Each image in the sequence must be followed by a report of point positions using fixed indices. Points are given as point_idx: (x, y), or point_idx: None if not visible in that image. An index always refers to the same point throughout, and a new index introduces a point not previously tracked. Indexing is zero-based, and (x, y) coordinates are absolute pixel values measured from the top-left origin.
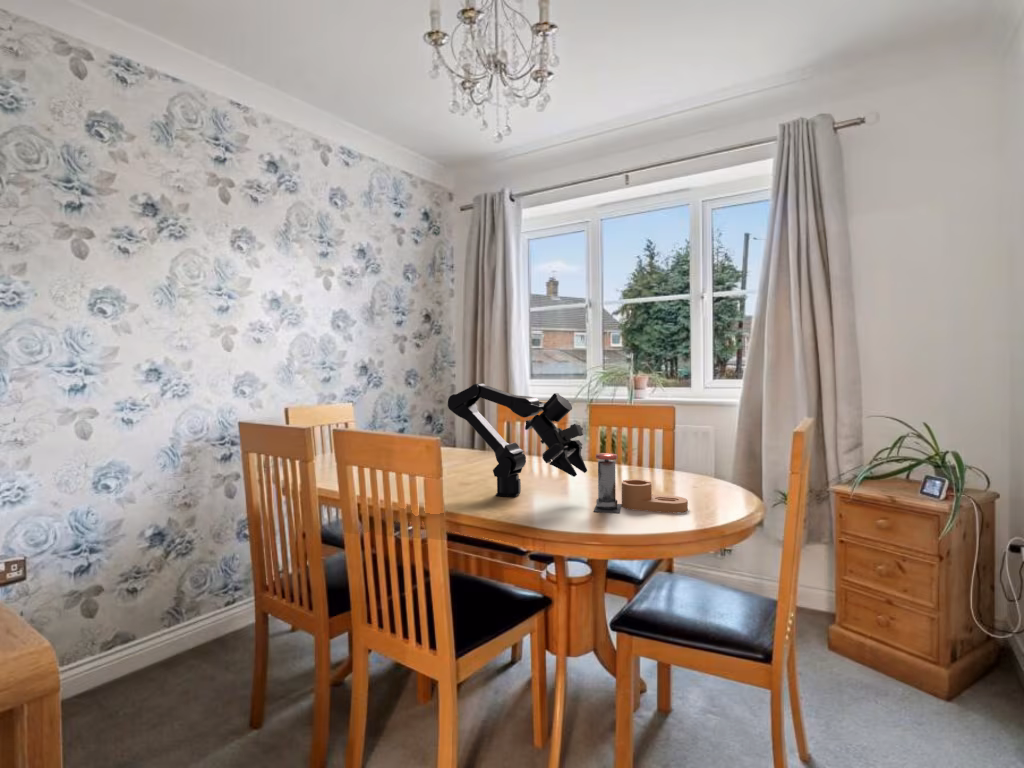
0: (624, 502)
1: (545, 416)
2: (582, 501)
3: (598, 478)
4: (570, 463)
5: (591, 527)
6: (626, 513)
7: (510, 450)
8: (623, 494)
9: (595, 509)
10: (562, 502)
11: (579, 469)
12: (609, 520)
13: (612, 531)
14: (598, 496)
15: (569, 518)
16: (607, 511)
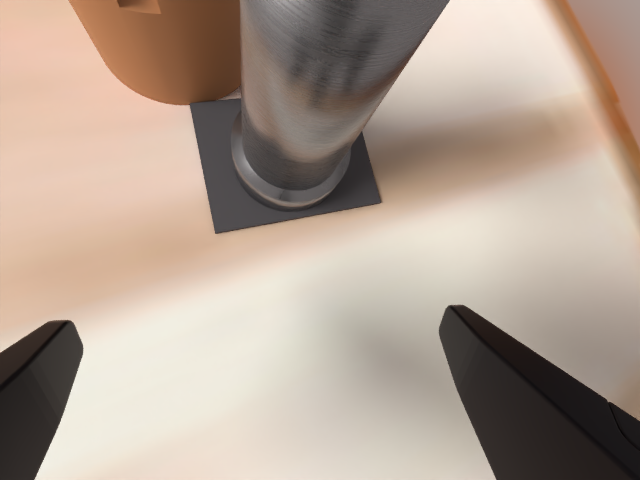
0: (240, 66)
1: None
2: (196, 330)
3: (368, 112)
4: (578, 416)
5: (565, 154)
6: None
7: None
8: (233, 40)
9: (348, 202)
10: (269, 437)
11: (51, 439)
12: (460, 111)
13: (565, 79)
14: (325, 175)
15: (514, 271)
16: (356, 141)
